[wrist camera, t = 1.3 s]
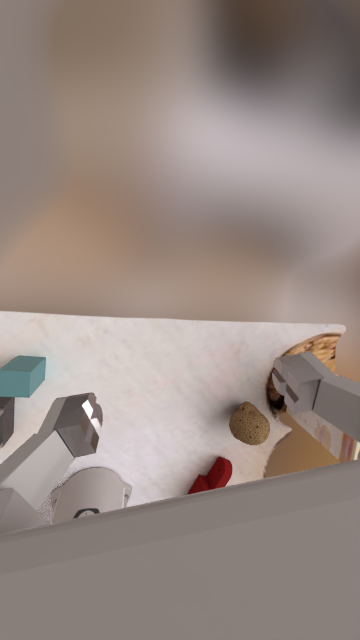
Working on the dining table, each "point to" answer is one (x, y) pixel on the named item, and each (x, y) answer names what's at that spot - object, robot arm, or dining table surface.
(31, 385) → the block
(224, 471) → the mechanical linkage
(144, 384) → the dining table surface
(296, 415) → the coffeecake box
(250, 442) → the natural sponge
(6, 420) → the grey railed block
